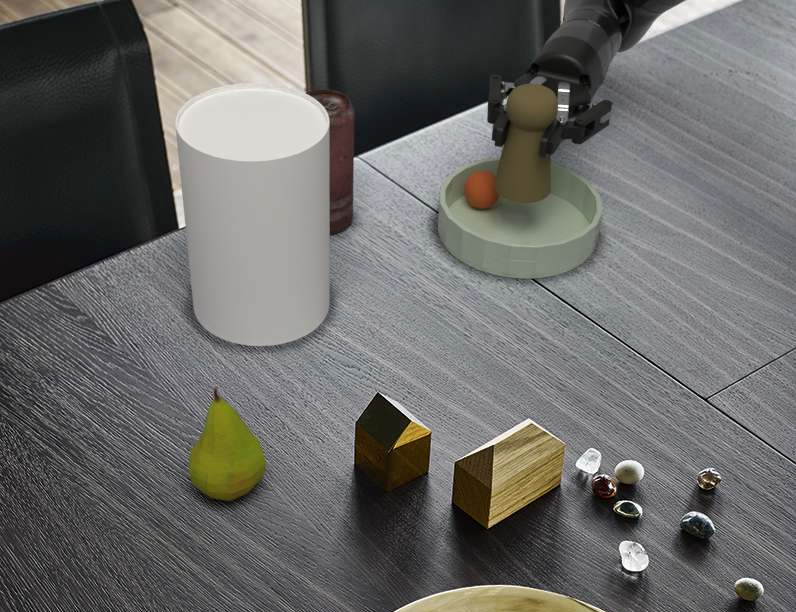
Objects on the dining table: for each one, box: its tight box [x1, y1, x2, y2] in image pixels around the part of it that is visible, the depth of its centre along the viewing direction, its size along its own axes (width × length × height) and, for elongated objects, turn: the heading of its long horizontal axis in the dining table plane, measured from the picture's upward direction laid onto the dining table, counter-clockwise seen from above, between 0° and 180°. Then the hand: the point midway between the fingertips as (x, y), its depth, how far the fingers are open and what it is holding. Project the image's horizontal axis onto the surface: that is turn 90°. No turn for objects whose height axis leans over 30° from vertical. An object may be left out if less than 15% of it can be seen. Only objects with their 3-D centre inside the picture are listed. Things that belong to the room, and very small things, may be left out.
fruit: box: [188, 386, 267, 502], centre depth 103 cm, size 6×6×12 cm
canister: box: [174, 82, 331, 347], centre depth 118 cm, size 14×14×20 cm
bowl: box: [437, 156, 604, 280], centre depth 134 cm, size 17×17×4 cm
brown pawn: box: [494, 84, 558, 203], centre depth 128 cm, size 6×6×11 cm
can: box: [305, 88, 355, 236], centre depth 131 cm, size 6×6×14 cm
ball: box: [464, 171, 500, 209], centre depth 137 cm, size 4×4×4 cm
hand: (521, 143), depth 125 cm, fingers closed on brown pawn, 4 cm apart
